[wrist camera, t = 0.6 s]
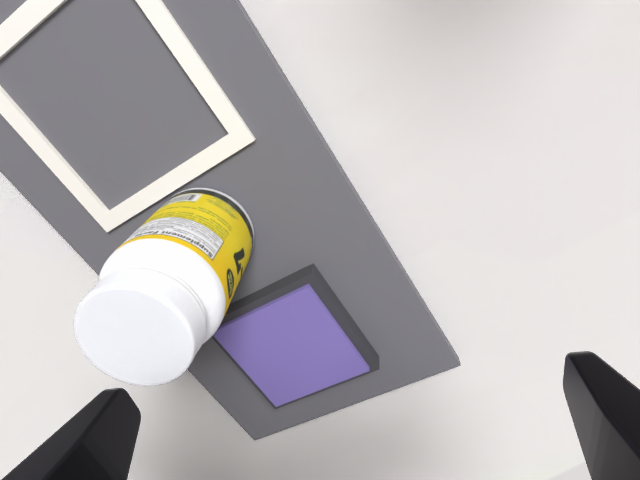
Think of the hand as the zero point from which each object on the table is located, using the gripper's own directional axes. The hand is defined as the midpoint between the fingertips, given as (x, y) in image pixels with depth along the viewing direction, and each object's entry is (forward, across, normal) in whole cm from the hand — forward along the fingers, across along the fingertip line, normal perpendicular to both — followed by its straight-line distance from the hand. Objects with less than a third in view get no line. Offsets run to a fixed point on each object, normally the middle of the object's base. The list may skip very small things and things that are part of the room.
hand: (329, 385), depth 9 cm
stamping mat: (+13, +7, +3) cm, 15 cm away
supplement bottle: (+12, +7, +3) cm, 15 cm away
